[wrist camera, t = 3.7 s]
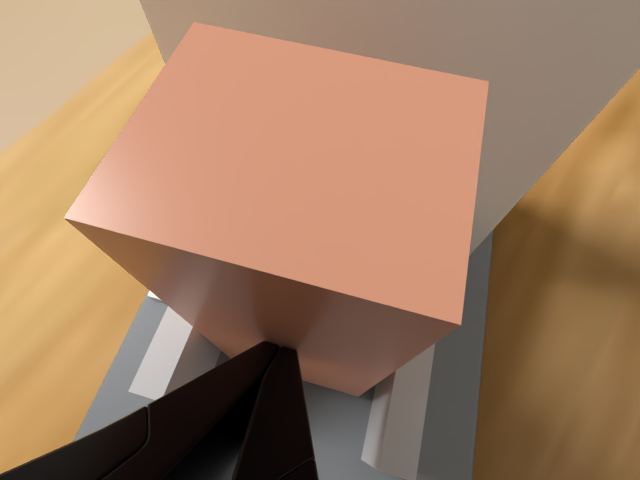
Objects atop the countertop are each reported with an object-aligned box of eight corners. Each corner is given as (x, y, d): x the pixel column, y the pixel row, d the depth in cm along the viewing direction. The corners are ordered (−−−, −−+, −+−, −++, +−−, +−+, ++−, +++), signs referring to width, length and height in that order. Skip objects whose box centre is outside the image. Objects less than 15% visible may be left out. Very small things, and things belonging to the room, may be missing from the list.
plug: (357, 396, 14) (460, 324, 4) (231, 359, 15) (63, 217, 5) (379, 296, 16) (488, 81, 6) (265, 266, 16) (193, 21, 7)
